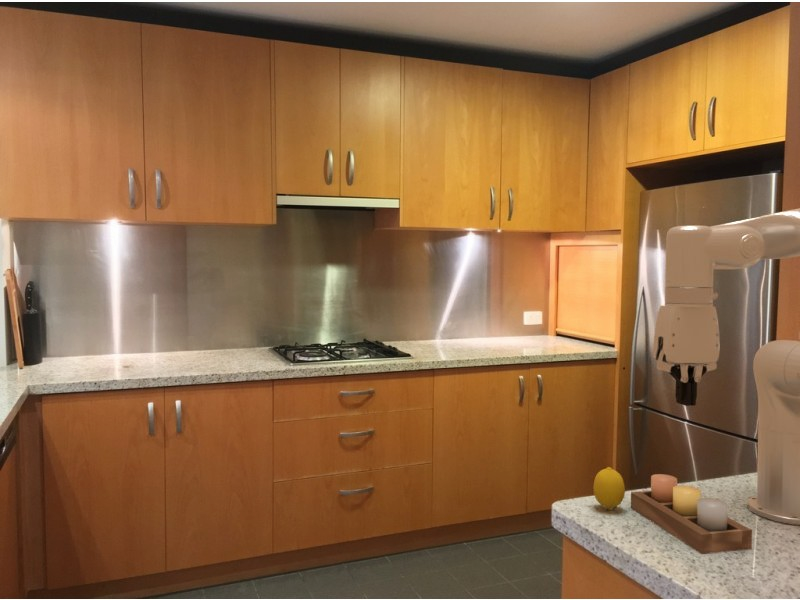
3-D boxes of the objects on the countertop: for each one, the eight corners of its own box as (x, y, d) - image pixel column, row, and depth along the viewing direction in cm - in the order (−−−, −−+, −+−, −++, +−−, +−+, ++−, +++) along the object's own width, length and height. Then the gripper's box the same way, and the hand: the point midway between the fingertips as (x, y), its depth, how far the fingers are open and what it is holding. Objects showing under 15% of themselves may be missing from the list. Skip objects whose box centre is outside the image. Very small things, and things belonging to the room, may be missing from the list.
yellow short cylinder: (689, 509, 113) (690, 484, 112) (706, 518, 108) (706, 492, 108) (667, 511, 112) (667, 486, 111) (683, 520, 107) (683, 494, 107)
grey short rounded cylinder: (714, 523, 106) (715, 497, 106) (733, 533, 102) (733, 506, 102) (691, 525, 105) (691, 499, 105) (709, 535, 101) (709, 508, 101)
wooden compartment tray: (673, 504, 121) (674, 488, 121) (751, 548, 101) (752, 530, 101) (630, 507, 119) (630, 492, 119) (701, 553, 99) (701, 534, 99)
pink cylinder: (667, 496, 119) (667, 473, 119) (682, 505, 115) (682, 480, 114) (646, 498, 118) (646, 474, 118) (660, 506, 114) (660, 482, 114)
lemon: (626, 516, 115) (627, 472, 114) (594, 514, 116) (595, 470, 116) (622, 505, 120) (622, 463, 120) (591, 503, 121) (592, 462, 121)
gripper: (713, 297, 114) (710, 399, 115) (636, 297, 111) (634, 401, 112) (742, 299, 107) (739, 407, 107) (661, 298, 104) (658, 409, 105)
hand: (685, 404), depth 110 cm, fingers closed
